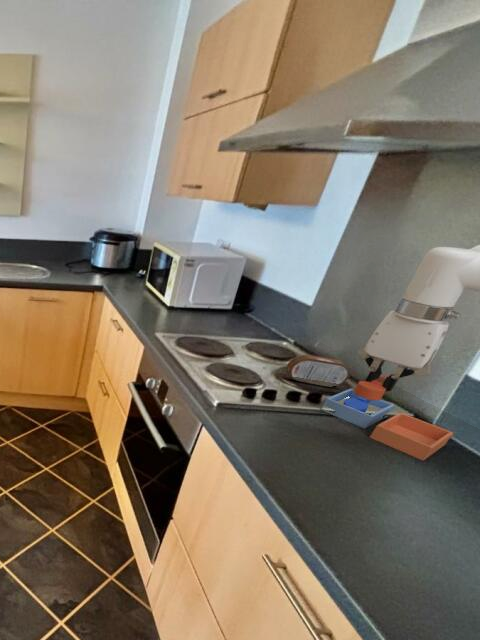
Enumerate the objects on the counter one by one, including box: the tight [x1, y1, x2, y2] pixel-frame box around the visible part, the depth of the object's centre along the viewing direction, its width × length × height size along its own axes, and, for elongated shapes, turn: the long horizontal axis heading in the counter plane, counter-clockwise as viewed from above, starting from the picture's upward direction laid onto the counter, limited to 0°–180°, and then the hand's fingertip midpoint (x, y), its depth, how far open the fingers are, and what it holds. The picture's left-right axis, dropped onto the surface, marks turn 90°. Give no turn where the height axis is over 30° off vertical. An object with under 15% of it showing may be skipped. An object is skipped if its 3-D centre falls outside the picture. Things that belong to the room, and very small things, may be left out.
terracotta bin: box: [369, 412, 454, 461], centre depth 97 cm, size 10×14×4 cm
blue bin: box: [320, 388, 396, 429], centre depth 108 cm, size 10×14×4 cm
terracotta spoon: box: [353, 374, 390, 401], centre depth 92 cm, size 5×11×3 cm, turn 120°
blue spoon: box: [343, 396, 372, 413], centre depth 108 cm, size 5×11×3 cm, turn 120°
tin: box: [285, 354, 351, 386], centre depth 122 cm, size 15×3×8 cm, turn 71°
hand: (375, 389), depth 93 cm, fingers closed on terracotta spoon
